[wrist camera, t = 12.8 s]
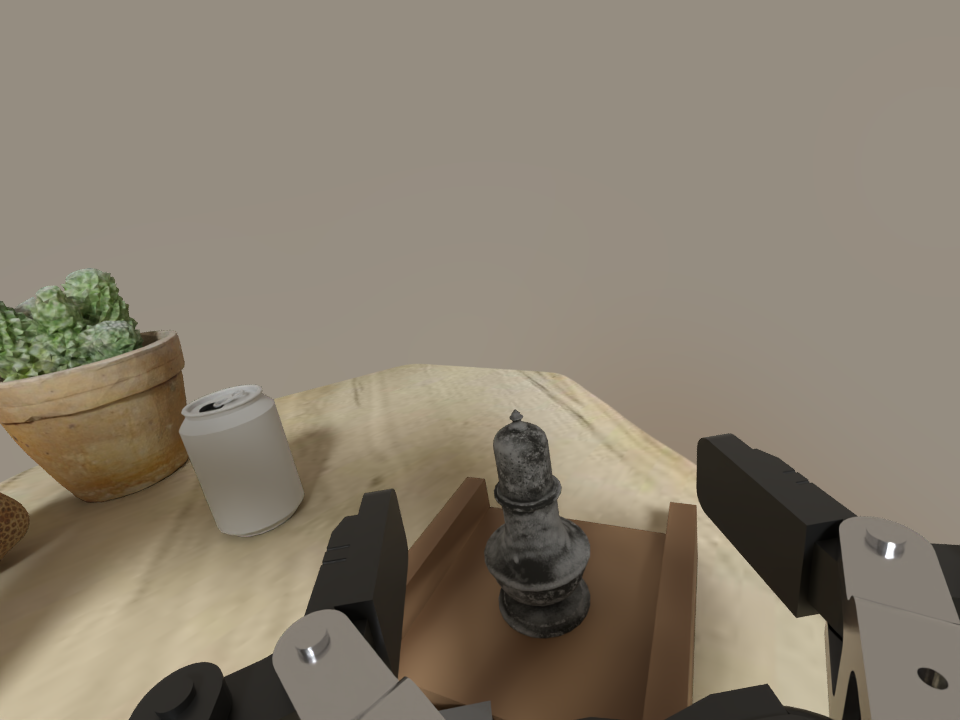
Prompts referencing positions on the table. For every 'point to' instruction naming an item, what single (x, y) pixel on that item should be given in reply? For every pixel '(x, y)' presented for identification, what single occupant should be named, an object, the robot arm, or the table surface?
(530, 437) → the salt shaker
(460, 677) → the brown piece
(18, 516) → the natural sponge
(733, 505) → the robot arm
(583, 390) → the table surface
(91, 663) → the table surface
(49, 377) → the potted plant
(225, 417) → the can
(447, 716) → the socket frame
